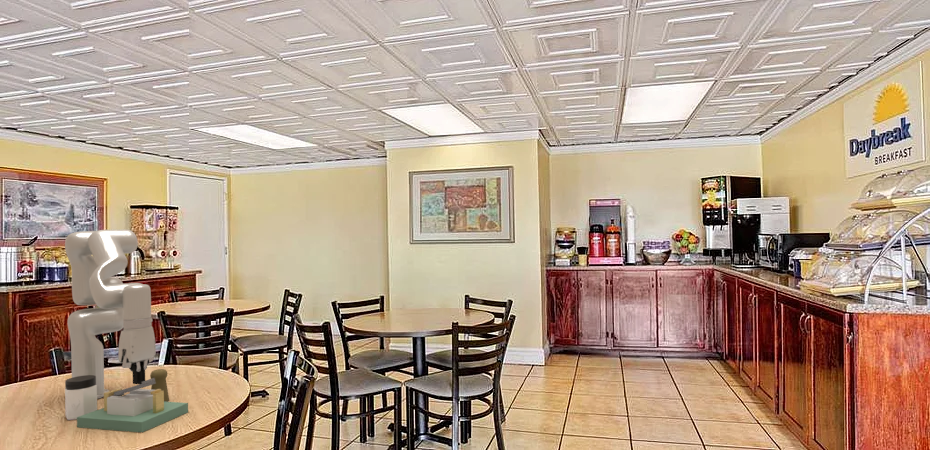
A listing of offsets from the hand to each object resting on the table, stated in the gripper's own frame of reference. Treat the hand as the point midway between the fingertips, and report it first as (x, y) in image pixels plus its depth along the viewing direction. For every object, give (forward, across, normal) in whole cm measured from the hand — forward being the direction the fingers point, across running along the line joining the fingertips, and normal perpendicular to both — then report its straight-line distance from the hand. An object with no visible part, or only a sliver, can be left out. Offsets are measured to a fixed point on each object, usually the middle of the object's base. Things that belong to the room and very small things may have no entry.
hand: (139, 383), depth 169 cm
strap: (+2, 0, -2) cm, 3 cm away
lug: (+8, 0, +7) cm, 11 cm away
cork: (+11, -17, -9) cm, 23 cm away
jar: (+11, 0, -23) cm, 26 cm away
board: (+11, 0, -2) cm, 12 cm away
